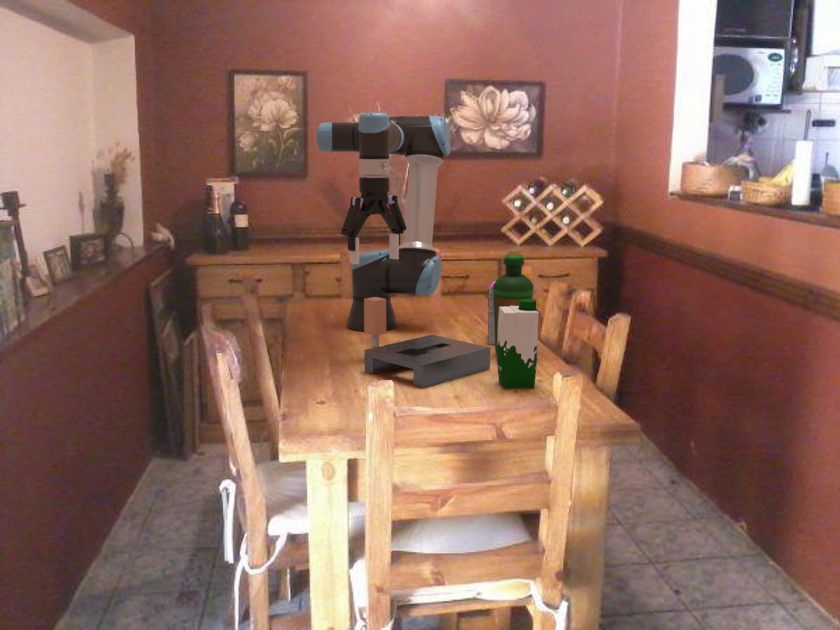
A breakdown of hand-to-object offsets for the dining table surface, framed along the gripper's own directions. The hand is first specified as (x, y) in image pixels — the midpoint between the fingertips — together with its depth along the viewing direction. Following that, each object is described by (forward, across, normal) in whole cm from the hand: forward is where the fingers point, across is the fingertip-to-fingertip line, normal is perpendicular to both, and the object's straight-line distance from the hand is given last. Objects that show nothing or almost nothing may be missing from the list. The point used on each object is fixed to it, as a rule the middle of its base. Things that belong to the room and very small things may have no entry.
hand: (374, 261), depth 214 cm
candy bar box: (+26, +39, -9) cm, 48 cm away
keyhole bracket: (+26, +2, -17) cm, 31 cm away
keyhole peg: (+26, 0, 0) cm, 26 cm away
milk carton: (+26, +8, -40) cm, 48 cm away
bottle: (+26, +29, -22) cm, 45 cm away
